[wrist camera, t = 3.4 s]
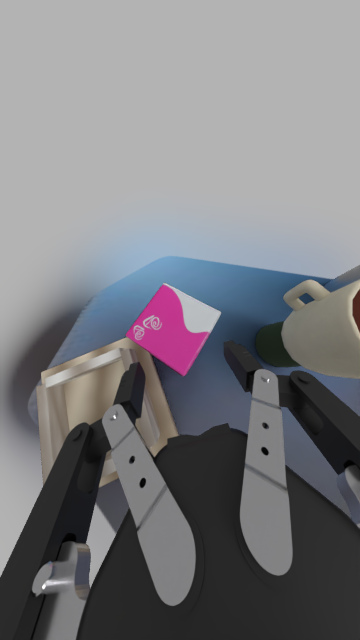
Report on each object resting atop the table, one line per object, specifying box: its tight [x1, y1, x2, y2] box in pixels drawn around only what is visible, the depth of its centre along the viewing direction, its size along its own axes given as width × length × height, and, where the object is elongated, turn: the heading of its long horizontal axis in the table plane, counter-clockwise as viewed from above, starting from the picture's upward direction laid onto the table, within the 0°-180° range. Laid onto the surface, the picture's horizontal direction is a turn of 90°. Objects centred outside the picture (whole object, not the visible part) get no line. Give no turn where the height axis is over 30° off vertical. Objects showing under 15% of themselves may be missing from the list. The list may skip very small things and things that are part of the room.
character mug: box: [255, 279, 360, 379], centre depth 14 cm, size 11×7×13 cm, turn 36°
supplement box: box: [125, 283, 221, 376], centre depth 16 cm, size 6×6×12 cm
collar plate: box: [36, 337, 179, 487], centre depth 17 cm, size 16×16×4 cm
